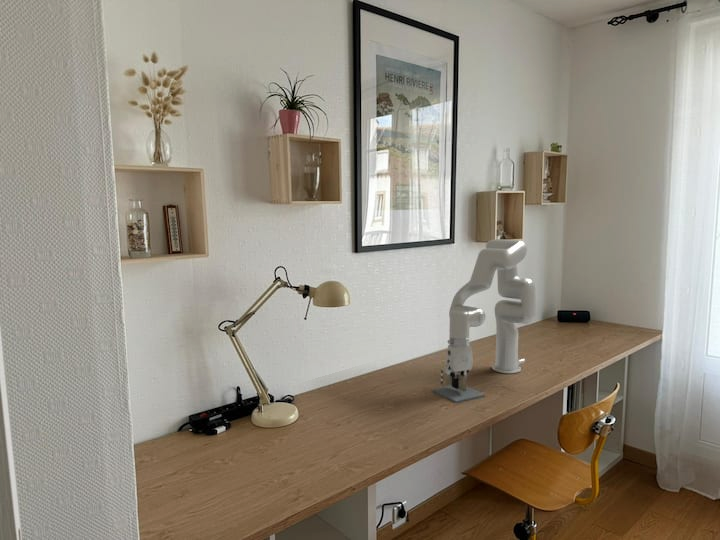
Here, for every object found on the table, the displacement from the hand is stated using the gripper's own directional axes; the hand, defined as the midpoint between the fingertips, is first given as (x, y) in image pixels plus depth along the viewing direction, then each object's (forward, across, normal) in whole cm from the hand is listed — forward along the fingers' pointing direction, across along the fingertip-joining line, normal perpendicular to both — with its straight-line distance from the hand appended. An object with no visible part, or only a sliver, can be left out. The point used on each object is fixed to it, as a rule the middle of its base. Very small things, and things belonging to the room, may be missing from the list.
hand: (458, 386), depth 199 cm
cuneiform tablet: (+1, -1, +2) cm, 2 cm away
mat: (+3, 0, 0) cm, 3 cm away
